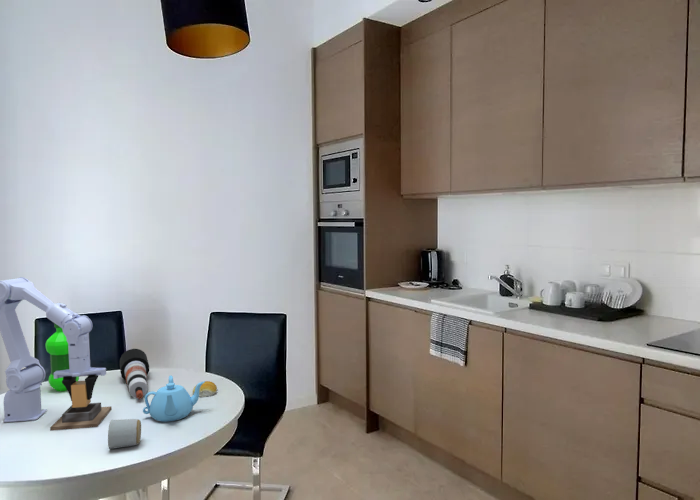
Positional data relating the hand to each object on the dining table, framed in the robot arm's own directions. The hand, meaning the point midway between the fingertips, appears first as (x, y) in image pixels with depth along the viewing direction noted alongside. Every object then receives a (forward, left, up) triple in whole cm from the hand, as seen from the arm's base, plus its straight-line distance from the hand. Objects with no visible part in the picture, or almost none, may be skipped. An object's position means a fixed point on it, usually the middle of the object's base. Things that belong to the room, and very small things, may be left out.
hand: (81, 399), depth 155 cm
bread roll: (+35, +17, -7) cm, 39 cm away
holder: (0, 0, -6) cm, 6 cm away
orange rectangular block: (0, 0, -2) cm, 2 cm away
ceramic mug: (+18, -20, -7) cm, 28 cm away
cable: (+9, +28, -7) cm, 30 cm away
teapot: (+28, -2, -7) cm, 29 cm away
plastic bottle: (-17, +32, -7) cm, 37 cm away
